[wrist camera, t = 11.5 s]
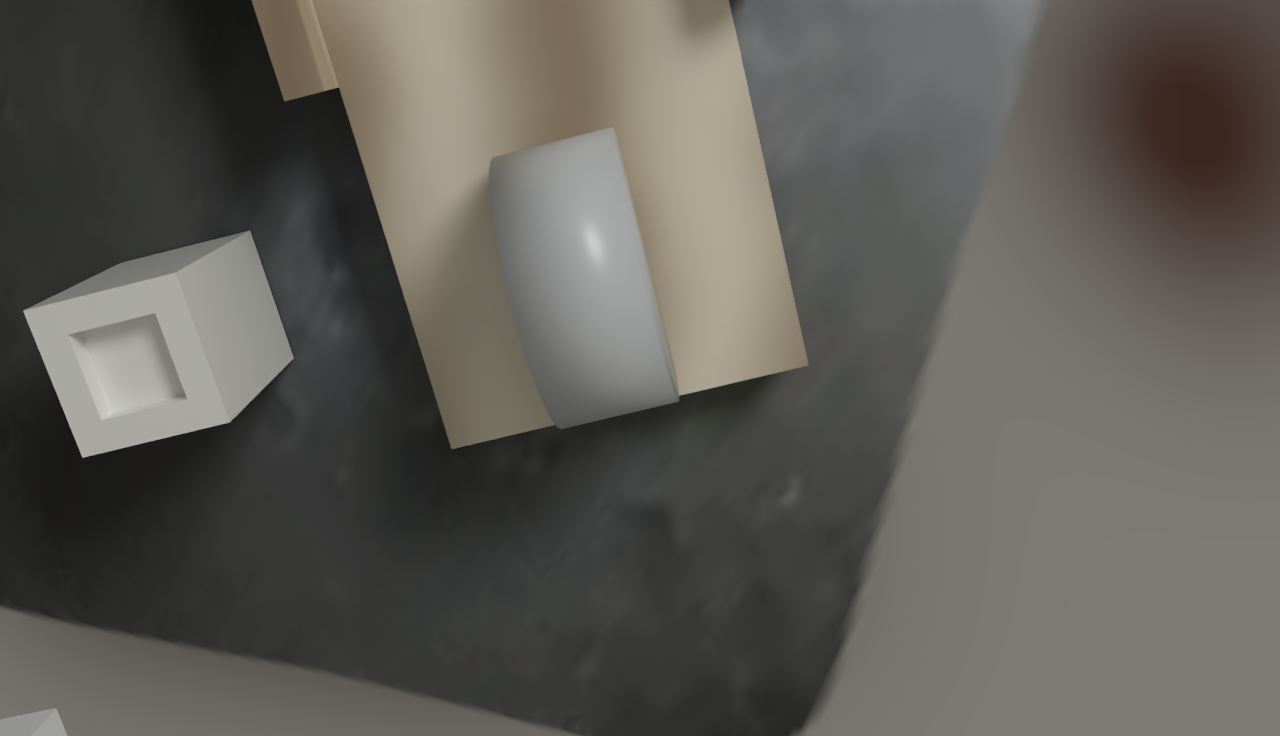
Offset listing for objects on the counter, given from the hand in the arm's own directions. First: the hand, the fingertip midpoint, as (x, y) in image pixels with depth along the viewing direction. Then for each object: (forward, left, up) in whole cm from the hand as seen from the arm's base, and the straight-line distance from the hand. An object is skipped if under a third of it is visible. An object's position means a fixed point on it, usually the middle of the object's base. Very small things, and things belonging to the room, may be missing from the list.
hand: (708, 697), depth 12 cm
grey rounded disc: (-2, +1, -23) cm, 23 cm away
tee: (-13, +2, -23) cm, 26 cm away
